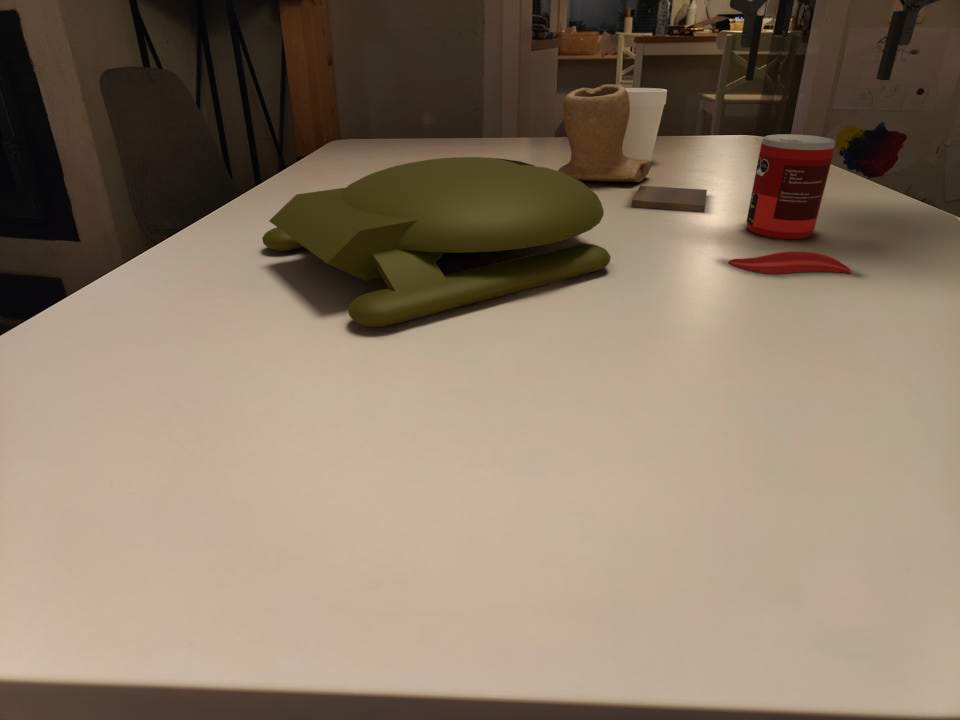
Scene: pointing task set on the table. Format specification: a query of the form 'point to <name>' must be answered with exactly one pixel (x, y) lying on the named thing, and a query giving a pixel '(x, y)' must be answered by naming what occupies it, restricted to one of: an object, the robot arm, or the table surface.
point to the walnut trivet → (670, 198)
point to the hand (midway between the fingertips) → (813, 80)
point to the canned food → (789, 185)
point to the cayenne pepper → (791, 263)
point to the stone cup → (600, 136)
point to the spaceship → (443, 232)
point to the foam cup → (643, 122)
